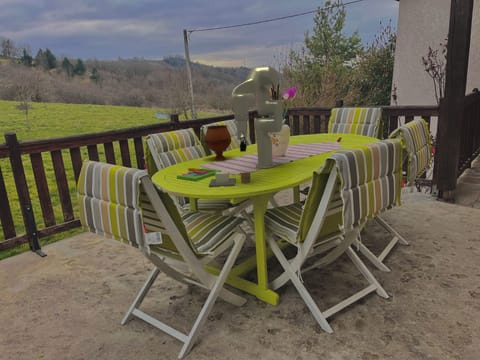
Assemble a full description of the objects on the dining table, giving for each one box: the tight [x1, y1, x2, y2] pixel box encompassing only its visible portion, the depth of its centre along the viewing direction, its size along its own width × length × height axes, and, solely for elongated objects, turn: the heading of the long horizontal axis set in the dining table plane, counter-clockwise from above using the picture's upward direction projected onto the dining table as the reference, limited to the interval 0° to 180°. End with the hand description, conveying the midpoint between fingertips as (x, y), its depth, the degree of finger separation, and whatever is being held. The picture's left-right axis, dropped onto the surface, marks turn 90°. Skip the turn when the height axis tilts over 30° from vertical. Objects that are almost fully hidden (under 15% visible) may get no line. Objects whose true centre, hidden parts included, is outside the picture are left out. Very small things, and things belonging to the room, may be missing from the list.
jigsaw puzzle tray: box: [176, 167, 222, 182], centre depth 231 cm, size 23×2×25 cm
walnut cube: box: [240, 171, 252, 184], centre depth 205 cm, size 5×5×5 cm
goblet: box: [204, 124, 232, 162], centre depth 272 cm, size 19×19×25 cm
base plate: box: [208, 177, 237, 188], centre depth 206 cm, size 14×14×1 cm
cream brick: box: [214, 171, 230, 183], centre depth 206 cm, size 5×7×5 cm
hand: (243, 149), depth 202 cm, fingers open, 9 cm apart
